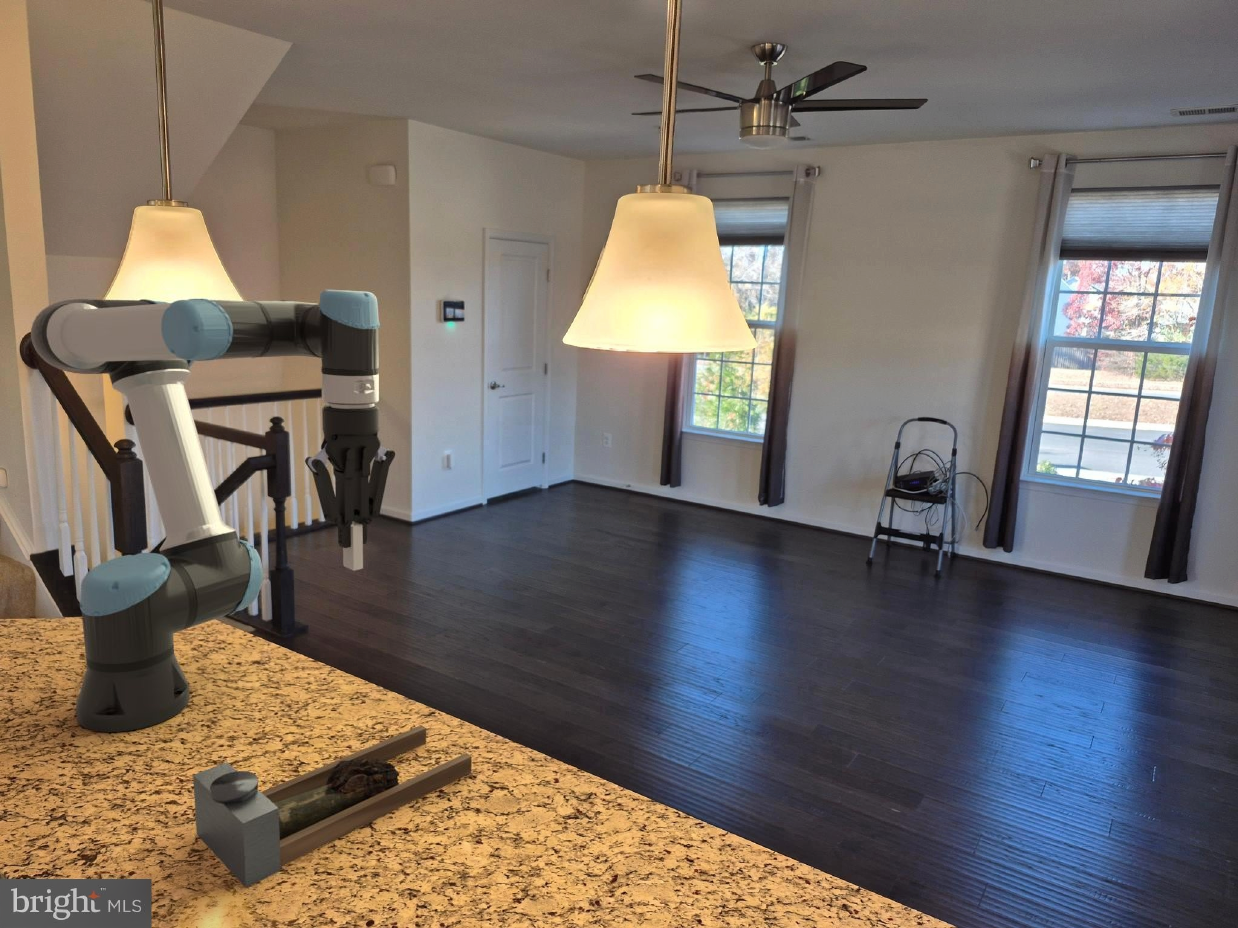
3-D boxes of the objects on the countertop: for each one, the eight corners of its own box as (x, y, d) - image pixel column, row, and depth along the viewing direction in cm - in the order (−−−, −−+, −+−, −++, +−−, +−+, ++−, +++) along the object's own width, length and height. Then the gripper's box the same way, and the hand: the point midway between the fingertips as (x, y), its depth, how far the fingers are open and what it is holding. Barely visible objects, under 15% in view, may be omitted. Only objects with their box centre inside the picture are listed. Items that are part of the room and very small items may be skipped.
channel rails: (232, 822, 103) (231, 804, 102) (421, 740, 124) (421, 724, 123) (278, 867, 95) (277, 848, 95) (471, 772, 116) (471, 756, 116)
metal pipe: (265, 856, 98) (263, 813, 96) (247, 828, 103) (245, 787, 102) (405, 802, 109) (404, 763, 108) (382, 779, 114) (382, 741, 113)
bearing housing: (192, 836, 100) (188, 768, 98) (234, 818, 104) (230, 752, 102) (241, 889, 92) (238, 817, 90) (284, 868, 95) (282, 797, 94)
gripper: (321, 411, 107) (324, 584, 112) (406, 404, 117) (407, 564, 122) (292, 404, 112) (297, 570, 117) (377, 398, 122) (378, 552, 126)
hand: (353, 567), depth 119 cm, fingers closed
